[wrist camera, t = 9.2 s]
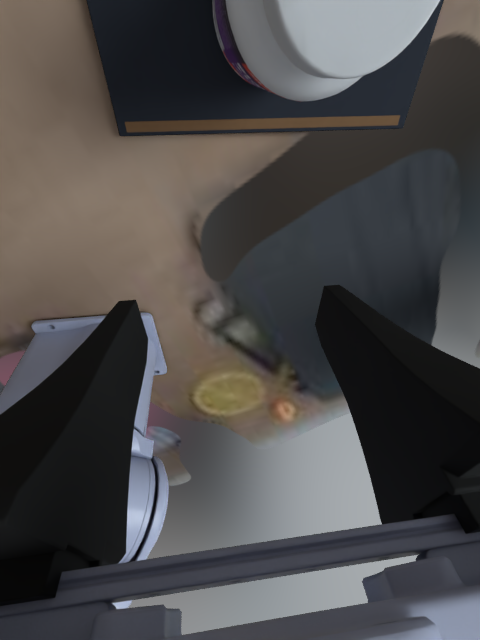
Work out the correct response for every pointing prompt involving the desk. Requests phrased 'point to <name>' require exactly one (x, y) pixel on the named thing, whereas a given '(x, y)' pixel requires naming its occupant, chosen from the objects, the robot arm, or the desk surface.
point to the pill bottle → (314, 41)
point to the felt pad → (227, 77)
